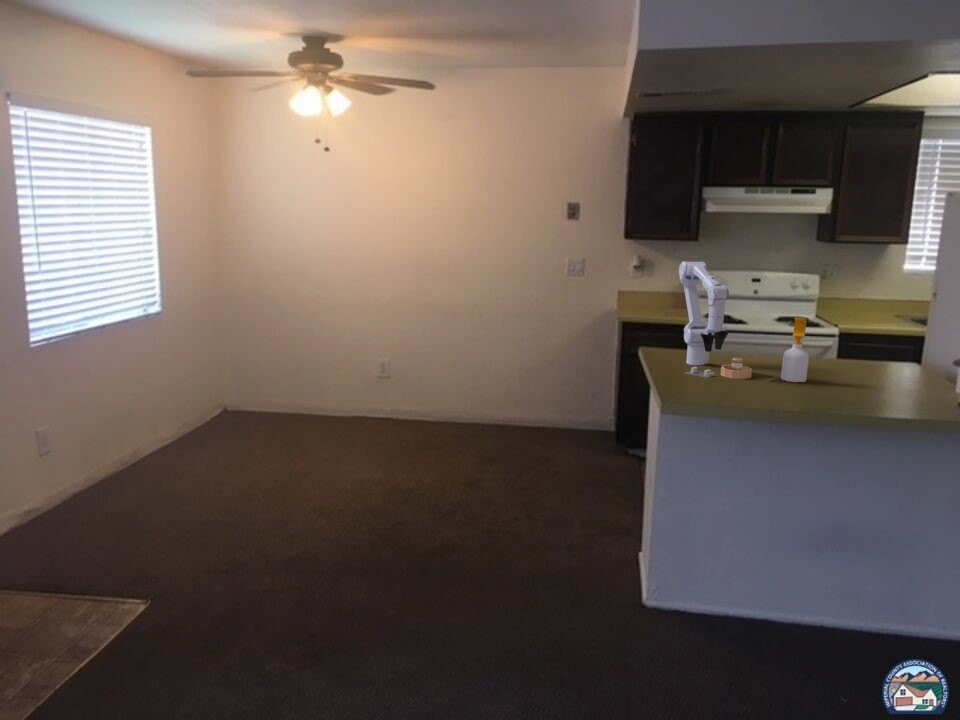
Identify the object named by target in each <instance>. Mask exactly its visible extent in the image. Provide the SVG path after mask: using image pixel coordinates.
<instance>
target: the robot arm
mask: <svg viewBox="0 0 960 720" xmlns="http://www.w3.org/2000/svg"><path fill="white" fill-rule="evenodd" d="M678 274H679V280H680V283H681V284H682V285H683V289H684V290H683V291H684V295H685V303H686V309H687V315H688V320H689V322H688V323H687V324H686V325H685V326H684V328H683V339H684V343H686V345H687V348H686V349H687V351H686V364H688V365H692V366H703V365H706V364H709V360H710V353H711V352H712V350H713V349H712V348H713V345H714V347H715V348H714V349H715V350H719V351H720V350H721V349H722V347H723V345H724V342H725V340H726V338H727V336H728V335H729V332H728V331H727V327H728V326H727V325H724V318H725V310H726V309H725V307H726V301H727V300H728V299H729V297H730V289H729V288H728V286H727V285H724V284H721V283H720V281H718V280H717V278H716V276H715V275H710V273H709V272H708V271H707V264H706V263H705V261H681V263H680V264H679V268H678ZM699 284H701V287H703V288H704V290H705V291H706V293H707V299H708V300H707V301H708V302H707V303H708V306H709V307H708V308H709V309H708V318H707V322H705V321H703V318H702V313H701V312H702V310H701V307H700V300H699V293H698V288H697V286H698V285H699Z"/></svg>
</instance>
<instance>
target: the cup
mask: <svg viewBox="0 0 960 720" xmlns="http://www.w3.org/2000/svg"><path fill="white" fill-rule="evenodd" d="M720 366H721V367H720V376H722V377H724V378H729V379H733V380H736V379H737V380H747V379H748V380H749V379H752V374H753V373H752V372H753V368H751V367H749V366H745V365H742V371H735V370H731V364H723V365H720Z"/></svg>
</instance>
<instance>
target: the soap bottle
mask: <svg viewBox="0 0 960 720" xmlns="http://www.w3.org/2000/svg"><path fill="white" fill-rule="evenodd" d="M793 320H794V324H793V325H794V326H793V333H792V337H793V338H794V339H795V341H792V347H791V348H789V349H787V350H784V353H783V356H782V365H781V373H780V374H781V375H780V379H781V380H782V381H784V380H785V381H784V382H788V383H795V382H796V383H797V382H802V383H805V382H806V381H807V377H808V368H809V360H810V356H809V353H808V352H807V351H806V350H804V349H803V342H802V341H801V340H802V339H803V338H805V335H806V328H807V318H803V317H794V319H793Z"/></svg>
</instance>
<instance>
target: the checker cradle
mask: <svg viewBox="0 0 960 720" xmlns="http://www.w3.org/2000/svg"><path fill="white" fill-rule="evenodd" d="M684 374H687V375H689V376H695V377H701V378H705V379H707V378H711V377H715V376H717V374H716V373H715V371H711V369H705V370H703V371H700V370H698V367H697V366H694V367H693V366H692V367H691V368H690V371H686V372H684Z"/></svg>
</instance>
